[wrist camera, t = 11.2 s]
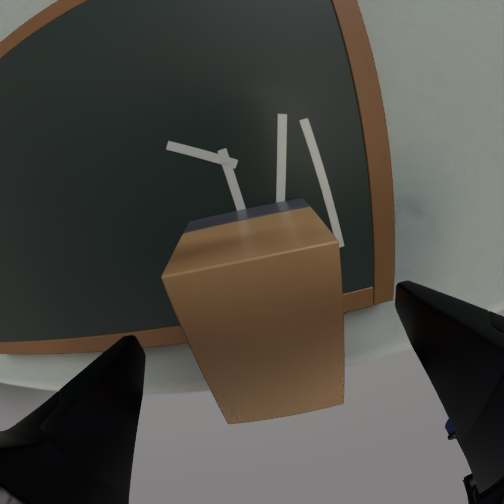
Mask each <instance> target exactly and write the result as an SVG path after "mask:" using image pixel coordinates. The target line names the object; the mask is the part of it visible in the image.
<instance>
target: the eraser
mask: <svg viewBox="0 0 504 504" xmlns="http://www.w3.org/2000/svg"><path fill="white" fill-rule="evenodd" d="M161 279H162V281H163V284H164V286H165V289H166V291H167V294H168V297H169V299H170V301H171V304H172V306H173V309H174V311H175V314H176V316H177V318H178V321H179V323H180V325H181V328H182V330H183V332H184V335H185V337H186V339H187V341H188V344H189V346H190V348H191V350H192V353H193V355H194V357H195V359H196V361H197V363H198V365H199V368H200V370H201V372H202V374H203V376H204V378H205V380H206V382H207V384H208V386H209V388H210V390H211V392H212V394H213V396H214V398H215V400H216V402H217V404H218V406H219V408H220V409H221V412H222V413H223V415H224V417H225V419H226V421H227V423H228V424H236V423H244V422H252V421H260V420H267V419H273V418H279V417H285V416H291V415H296V414H301V413H306V412H311V411H315V410H320V409H324V408H328V407H332V406H336V405H340V404H343V403H344V314H343V292H342V276H341V262H340V250H339V242H338V240H337V239H336V237H335V236H334V235H333V234H332V232H331V231H330V230H329V229H328V227H327V226H326V225H325V224H324V222H323V221H322V220H321V219H320V218H319V216H318V215H317V214H316V213H315V211H314V210H313V209H312V208H311V207H310V206H309V204H308V203H307V202H306V201H305V200H304V199H303V198H297V199H292V200H287V201H282V202H277V203H272V204H267V205H262V206H257V207H252V208H248V209H243V210H238V211H234V212H229V213H224V214H220V215H215V216H211V217H207V218H202V219H198V220H193V221H190V222H189V223H188V225H187V227H186V229H185V231H184V233H183V234H182V236H181V238H180V240H179V242H178V244H177V246H176V248H175V250H174V252H173V254H172V256H171V258H170V260H169V262H168V264H167V266H166V268H165V270H164V272H163V274H162V276H161Z"/></svg>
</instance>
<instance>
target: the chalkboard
mask: <svg viewBox="0 0 504 504" xmlns="http://www.w3.org/2000/svg"><path fill="white" fill-rule="evenodd" d="M297 198H303V199H304V200H305V201H306V202H307V203H308V204H309V206H310V207H311V208H312V209H313V210H314V211H315V213H316V214H317V215H318V216H319V218H320V219H321V220H322V221H323V222H324V224H325V225H326V226H327V227H328V229H329V230H330V231H331V232H332V234H333V235H334V236H335V237H336V239H337V240H338V242H339V250H340V262H341V276H342V292H343V313H346V312H349V311H353V310H357V309H361V308H365V307H369V306H372V305H373V304H374V305H376V304H380V303H384V302H387V301H391V300H393V293H394V271H395V217H394V195H393V180H392V168H391V158H390V149H389V141H388V133H387V126H386V119H385V113H384V107H383V101H382V96H381V90H380V85H379V81H378V76H377V71H376V67H375V63H374V58H373V54H372V50H371V47H370V43H369V39H368V36H367V32H366V29H365V25H364V22H363V19H362V15H361V12H360V9H359V6H358V3H357V0H58V1H57V2H55V3H53V4H52V5H50V6H49V7H47V8H46V9H44V10H42V11H41V12H40V13H38V14H37V15H35V16H34V17H32V18H31V19H29V20H28V21H27V22H25V23H24V24H23V25H21V26H20V27H19V28H17V29H16V30H15V31H14V32H12V33H11V34H10V35H9V36H7V37H6V38H5V39H4V40H3V41H1V42H0V354H64V353H85V352H101V351H106V350H107V349H109V348H110V347H111V346H112V345H113V344H115V343H116V342H117V341H118V340H119V339H121V338H122V337H123V336H127V335H134V336H136V338H137V339H138V341H139V343H140V345H141V347H142V348H147V347H156V346H165V345H173V344H181V343H188V341H187V339H186V337H185V335H184V332H183V330H182V328H181V325H180V323H179V321H178V318H177V316H176V314H175V311H174V309H173V306H172V304H171V301H170V299H169V297H168V294H167V291H166V289H165V286H164V284H163V281H162V279H161V276H162V274H163V272H164V270H165V268H166V266H167V264H168V262H169V260H170V258H171V256H172V254H173V252H174V250H175V248H176V246H177V244H178V242H179V240H180V238H181V236H182V234H183V233H184V231H185V229H186V227H187V225H188V223H189V222H190V221H193V220H198V219H202V218H207V217H211V216H215V215H220V214H224V213H229V212H234V211H238V210H243V209H248V208H252V207H257V206H262V205H267V204H272V203H277V202H282V201H287V200H292V199H297Z"/></svg>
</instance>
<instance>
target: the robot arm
mask: <svg viewBox="0 0 504 504" xmlns="http://www.w3.org/2000/svg"><path fill="white" fill-rule="evenodd" d="M395 307H396V310H397V313H398V315H399V317H400V320H401V322H402V324H403V326H404V329H405V331H406V333H407V336H408V338H409V340H410V343H411V345H412V347H413V349H414V351H415V352H416V354H417V356H418V358H419V360H420V361H421V363H422V365H423V367H424V369H425V371H426V373H427V374H428V376H429V378H430V380H431V382H432V384H433V386H434V388H435V390H436V392H437V394H438V396H439V398H440V400H441V402H442V404H443V406H444V408H445V411H446V413H447V415H448V417H449V419H450V421H451V423H452V426H453V428H454V431H453V432H452V433H451V434H450V435H449V436H448V439H449V440H452V439H457V441H458V443H459V445H460V447H461V449H462V451H463V453H464V455H465V457H466V459H467V461H468V464H469V466H470V469H471V472H472V473H471V474H470V475H467V476H466V477H464V480H463V482H464V485H465V488H466V491H467V495H468V501H469V502H468V503H469V504H504V317H503V316H501V315H498V314H496V313H493V312H491V311H489V312H488V310H485V309H483V308H480V307H478V306H475V305H473V304H470V303H467V302H465V301H462V300H459V299H457V298H454V297H452V296H449V295H446V294H444V293H441V292H438V291H435V290H433V289H430V288H427V287H425V286H422V285H419V284H417V283H414V282H411V281H403V282H400V283H398V284H397V286H396V298H395ZM145 360H146V357H145V352H144V350H143V348H142V347H141V345H140V343H139V341H138V339H137V338H136V336H134V335H127V336H123V337H122V338H121V339H119V340H118V341H117V342H116V343H115V344H113V345H112V346H111V347H110V348H109V349H107V350H106V351H105V352H104V353H103V354H101V355H100V356H99V357H98V358H97V359H96V360H94V361H93V362H92V363H91V364H90V365H88V366H87V367H86V368H85V369H84V370H82V371H81V372H80V373H79V374H78V375H77V376H75V377H74V378H73V379H72V380H71V381H70V382H68V383H67V384H66V385H65V386H64V387H62V388H61V389H60V390H59V391H58V392H57V393H56V394H54V395H53V396H52V397H51V398H50V399H48V400H47V401H46V402H45V403H43V404H42V405H41V406H40V407H38V408H37V409H36V410H35V411H33V412H32V413H30V414H29V415H28V416H26V417H25V418H24V419H22V420H21V421H20V422H18V423H17V424H16V425H14V426H13V427H11V428H10V429H8V430H5V431H0V504H129V491H130V480H131V471H132V463H133V455H134V447H135V440H136V432H137V426H138V420H139V414H140V408H141V401H142V396H143V385H144V372H145Z"/></svg>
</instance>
